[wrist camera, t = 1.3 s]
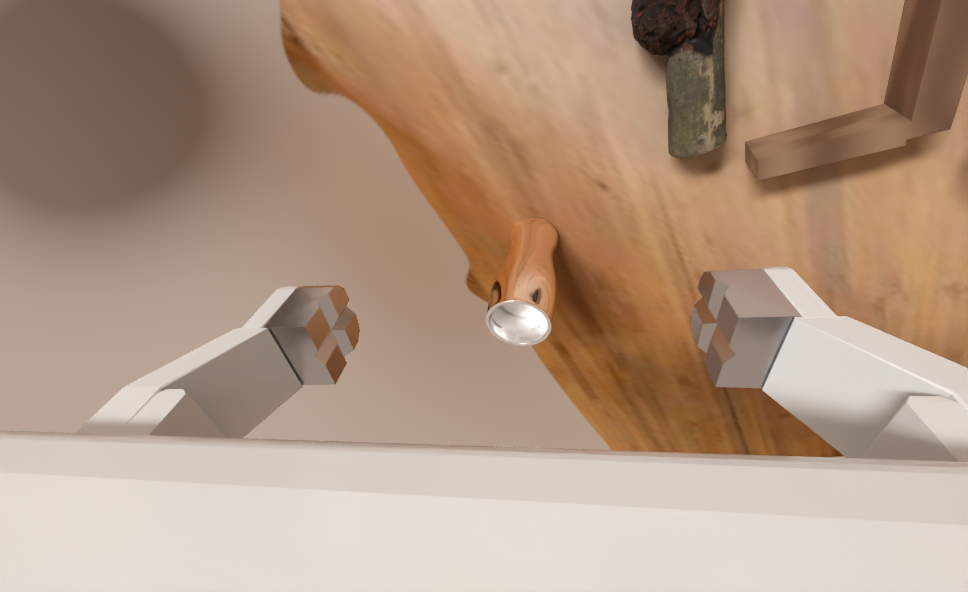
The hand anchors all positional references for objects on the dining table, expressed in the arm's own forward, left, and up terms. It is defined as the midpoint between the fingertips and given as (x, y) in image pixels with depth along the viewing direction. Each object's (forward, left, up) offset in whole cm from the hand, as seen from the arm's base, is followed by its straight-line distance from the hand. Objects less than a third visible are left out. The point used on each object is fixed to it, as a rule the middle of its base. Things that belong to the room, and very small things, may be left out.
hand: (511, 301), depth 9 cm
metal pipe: (-8, +4, -35) cm, 36 cm away
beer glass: (+10, +20, -35) cm, 41 cm away
